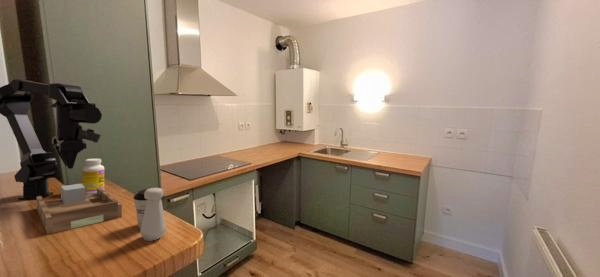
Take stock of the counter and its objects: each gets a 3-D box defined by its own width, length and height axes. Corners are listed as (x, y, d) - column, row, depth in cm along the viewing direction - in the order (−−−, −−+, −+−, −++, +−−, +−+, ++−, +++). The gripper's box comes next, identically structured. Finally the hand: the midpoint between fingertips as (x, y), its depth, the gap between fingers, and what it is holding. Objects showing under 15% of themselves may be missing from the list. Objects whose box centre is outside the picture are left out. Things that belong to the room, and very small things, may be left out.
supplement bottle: (100, 194, 94) (100, 161, 93) (79, 195, 92) (78, 161, 91) (107, 189, 100) (107, 158, 99) (86, 189, 98) (86, 158, 97)
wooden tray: (36, 208, 78) (36, 193, 77) (100, 197, 90) (100, 184, 90) (47, 234, 63) (46, 215, 62) (121, 217, 75) (121, 201, 75)
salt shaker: (154, 244, 61) (154, 193, 60) (134, 241, 62) (134, 190, 61) (170, 234, 67) (171, 187, 66) (152, 231, 68) (153, 184, 67)
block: (61, 199, 81) (61, 186, 81) (81, 196, 85) (81, 183, 85) (64, 204, 77) (64, 190, 77) (85, 200, 81) (85, 187, 81)
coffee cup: (137, 221, 73) (137, 188, 72) (163, 219, 76) (163, 187, 75) (129, 231, 67) (130, 195, 66) (158, 229, 69) (159, 194, 68)
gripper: (105, 124, 84) (105, 169, 85) (92, 121, 95) (92, 160, 96) (60, 123, 75) (61, 173, 76) (51, 120, 87) (52, 163, 88)
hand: (69, 167), depth 84 cm, fingers open, 5 cm apart
